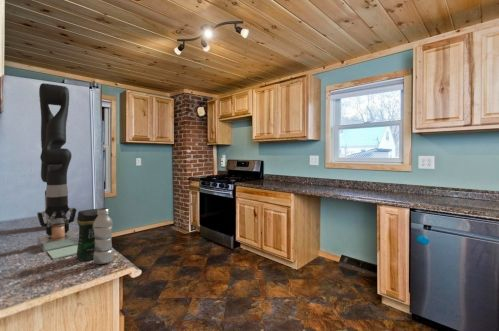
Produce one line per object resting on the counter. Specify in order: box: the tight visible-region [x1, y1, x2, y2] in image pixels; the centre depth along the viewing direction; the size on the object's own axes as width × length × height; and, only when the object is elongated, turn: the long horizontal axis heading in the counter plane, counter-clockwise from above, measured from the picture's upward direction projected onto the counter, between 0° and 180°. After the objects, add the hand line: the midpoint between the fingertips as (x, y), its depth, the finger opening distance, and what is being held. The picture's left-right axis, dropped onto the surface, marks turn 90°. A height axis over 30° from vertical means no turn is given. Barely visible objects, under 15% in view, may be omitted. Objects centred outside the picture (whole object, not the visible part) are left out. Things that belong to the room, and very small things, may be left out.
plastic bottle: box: [92, 207, 114, 265], centre depth 96 cm, size 6×7×20 cm
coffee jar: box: [76, 208, 98, 261], centre depth 102 cm, size 10×8×19 cm
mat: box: [46, 245, 78, 260], centre depth 106 cm, size 10×10×1 cm
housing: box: [36, 230, 79, 253], centre depth 114 cm, size 12×12×4 cm
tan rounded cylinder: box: [50, 223, 65, 239], centre depth 114 cm, size 5×5×9 cm
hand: (57, 233), depth 114 cm, fingers closed on tan rounded cylinder, 5 cm apart
